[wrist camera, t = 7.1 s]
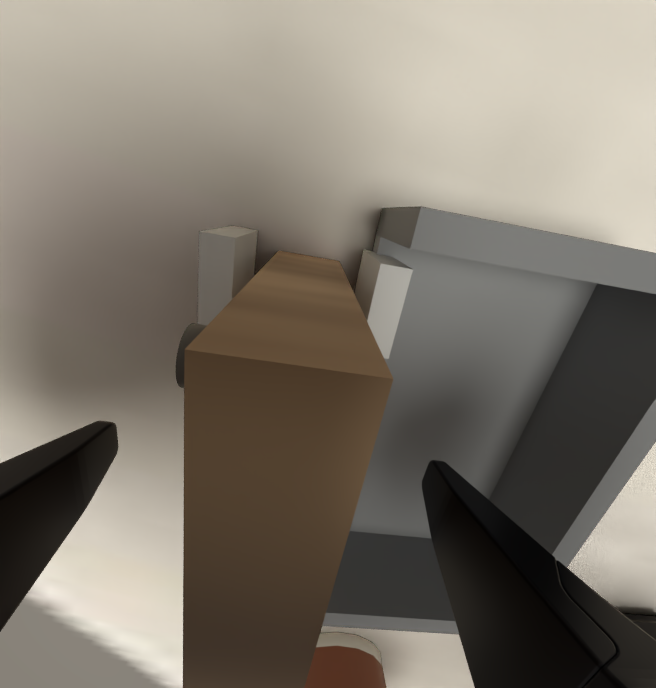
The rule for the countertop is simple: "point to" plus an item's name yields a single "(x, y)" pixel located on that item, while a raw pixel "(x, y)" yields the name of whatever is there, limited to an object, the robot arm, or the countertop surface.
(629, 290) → the carcass
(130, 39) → the countertop surface
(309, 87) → the countertop surface
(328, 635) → the coffee cup
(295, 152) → the countertop surface
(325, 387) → the door
